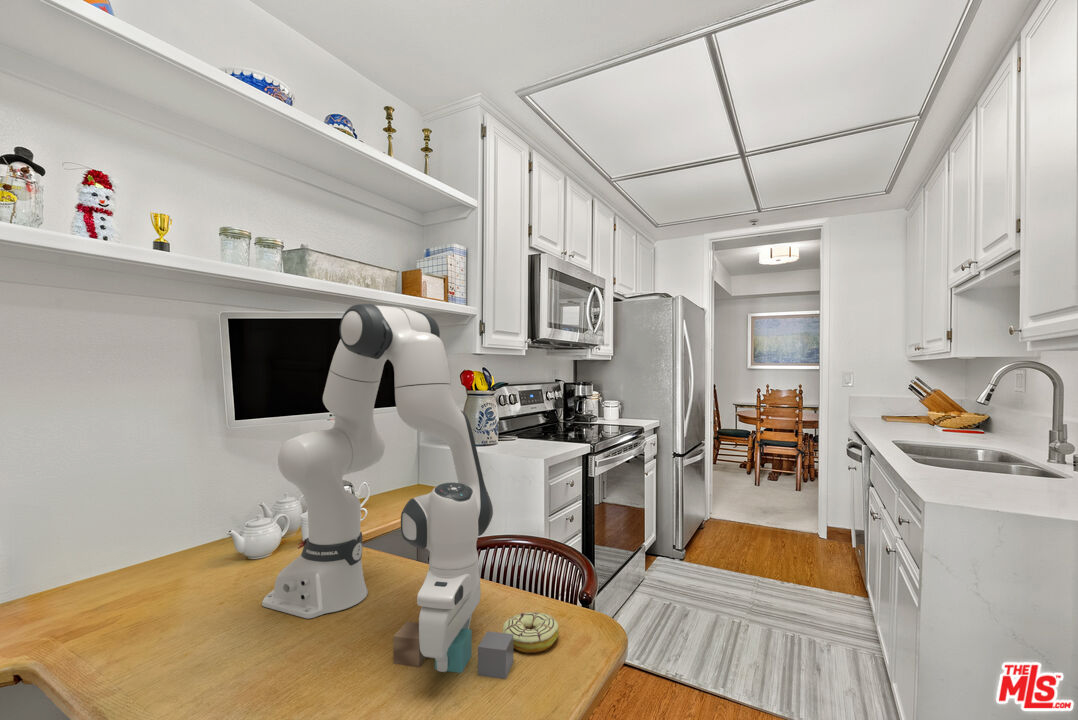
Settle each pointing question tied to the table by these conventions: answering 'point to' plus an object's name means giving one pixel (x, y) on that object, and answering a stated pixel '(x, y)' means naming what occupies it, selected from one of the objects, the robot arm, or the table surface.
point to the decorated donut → (532, 631)
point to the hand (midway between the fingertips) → (453, 653)
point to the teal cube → (459, 651)
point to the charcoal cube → (495, 655)
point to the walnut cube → (407, 646)
